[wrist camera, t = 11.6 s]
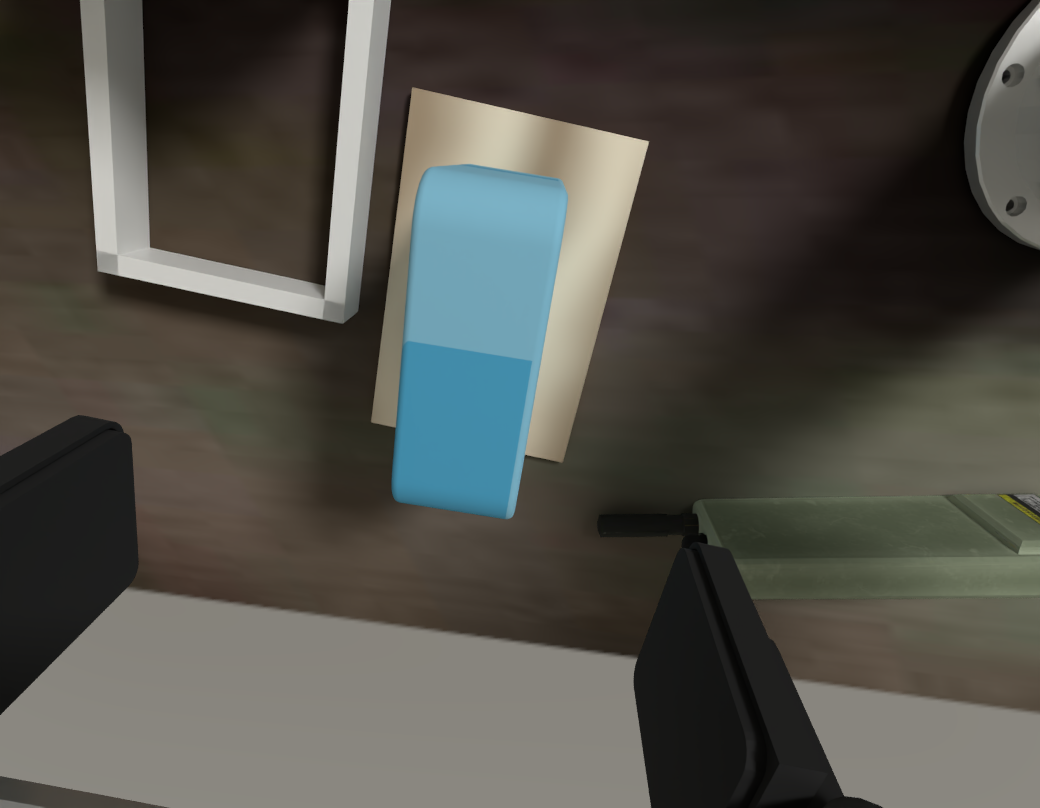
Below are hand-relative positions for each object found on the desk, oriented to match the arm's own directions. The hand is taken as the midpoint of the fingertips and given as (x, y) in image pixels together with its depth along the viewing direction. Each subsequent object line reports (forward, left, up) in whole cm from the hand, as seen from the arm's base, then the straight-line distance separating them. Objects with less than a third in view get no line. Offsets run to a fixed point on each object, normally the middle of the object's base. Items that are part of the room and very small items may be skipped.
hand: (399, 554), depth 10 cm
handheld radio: (-20, +9, -23) cm, 32 cm away
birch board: (0, 0, -22) cm, 22 cm away
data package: (0, 0, -22) cm, 22 cm away
